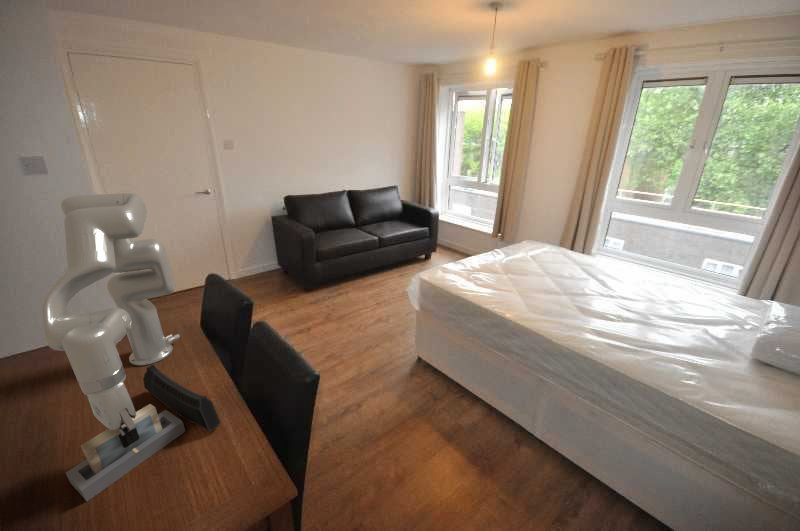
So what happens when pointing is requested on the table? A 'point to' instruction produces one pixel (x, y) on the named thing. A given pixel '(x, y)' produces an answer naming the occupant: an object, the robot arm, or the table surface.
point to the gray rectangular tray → (124, 459)
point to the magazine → (181, 399)
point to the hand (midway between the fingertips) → (126, 438)
